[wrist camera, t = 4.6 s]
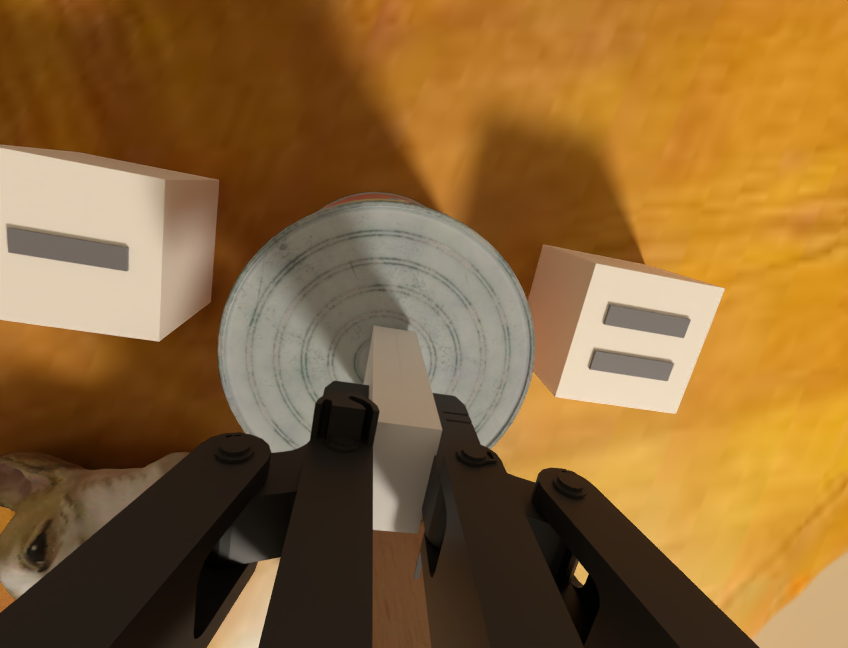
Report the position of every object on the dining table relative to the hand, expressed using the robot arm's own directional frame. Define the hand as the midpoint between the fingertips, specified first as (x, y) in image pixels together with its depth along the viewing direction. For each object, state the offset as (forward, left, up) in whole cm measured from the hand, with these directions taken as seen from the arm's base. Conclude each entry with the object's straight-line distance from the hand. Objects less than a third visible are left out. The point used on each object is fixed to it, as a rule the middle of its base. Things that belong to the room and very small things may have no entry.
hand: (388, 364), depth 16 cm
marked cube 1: (+13, +1, -12) cm, 18 cm away
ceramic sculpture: (-14, -16, -13) cm, 25 cm away
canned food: (0, 0, -12) cm, 12 cm away
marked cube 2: (-13, +1, -12) cm, 18 cm away
